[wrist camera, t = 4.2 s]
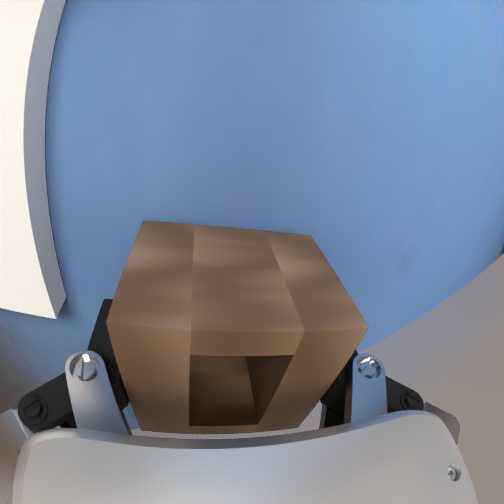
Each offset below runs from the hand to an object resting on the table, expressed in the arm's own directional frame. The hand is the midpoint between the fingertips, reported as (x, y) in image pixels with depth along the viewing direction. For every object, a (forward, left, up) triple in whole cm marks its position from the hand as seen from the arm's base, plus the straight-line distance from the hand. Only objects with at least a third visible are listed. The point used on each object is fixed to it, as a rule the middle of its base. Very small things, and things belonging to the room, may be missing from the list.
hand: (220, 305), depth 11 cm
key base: (+16, -6, -1) cm, 17 cm away
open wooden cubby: (0, 0, -1) cm, 1 cm away
